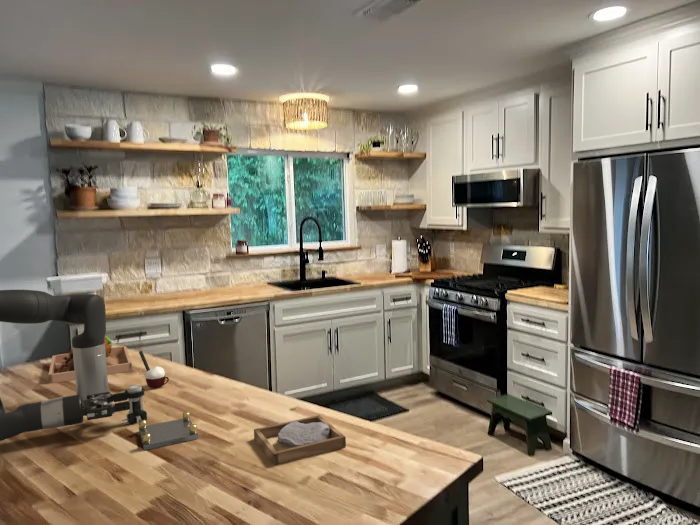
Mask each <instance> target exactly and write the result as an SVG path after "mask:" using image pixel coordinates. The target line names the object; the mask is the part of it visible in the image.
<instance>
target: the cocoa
mask: <svg viewBox="0 0 700 525" xmlns="http://www.w3.org/2000/svg"><path fill="white" fill-rule="evenodd" d="M138 354H139V356H140V358H141V361H142V364H143V366H144V368H145V370H146V372H145V374H144V377H145V383H146V385H147V387H148V388H150V389H159V388H162V387H163V386H166V385H167V383H169V381H170V379H169V377H168V376H166V372H165V369H164V368H163V367H161V366H158V365H157V366H153V367H151V369H150V366H149V364H148V361H147V359H146V356H145V355H144V352H143V351H142V350H139V351H138ZM165 381H166V382H165Z"/></svg>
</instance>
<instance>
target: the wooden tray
mask: <svg viewBox="0 0 700 525" xmlns="http://www.w3.org/2000/svg"><path fill="white" fill-rule="evenodd" d="M127 348H128V347H127V346H126V345H123V346H121V345H120V346H114V347H113V346H112V350H111V354H109V353H108V354H109V355H110V356H115V355H117V356H118V355H124V358H125V362H124V363H118V364H112V365H107V376H109V375H114V374H121V373H126V372H133V364H132V363H133V362H132V360H131V357H130V355H129V351H128V349H127ZM110 356H109V357H110ZM64 357H67V358H68V357H69V352H68V353H61V354H55V355H52V358H51V361H50V365H49V371H48V374H47V375H48V384H54V383H60V382H61V383H62V382H68V381H74V380H75V371H69V372H66V371H64V372H59V373H56V372H55V371H56V365H57V364H60V363H64V362H65V361H66V360H64V359H63V358H64Z"/></svg>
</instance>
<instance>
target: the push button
mask: <svg viewBox="0 0 700 525" xmlns="http://www.w3.org/2000/svg"><path fill="white" fill-rule="evenodd" d="M145 391H146V388H145V387H143V386H142V385H140V384H133V385H130V386H128V387H127V389H125V390H124V391H123V392H124V394H125V395H126V398H128V399H127V401H129V403H130V409H129V411H128V413H127V414H126V418H125V419H122V420H121V421H122V422H123V423H122V425H127V424H128V425H134V424H139V421H141V420H146V421H147V420H148V417H147V411H146V410H145V408H144V406H143V396H145Z"/></svg>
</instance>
